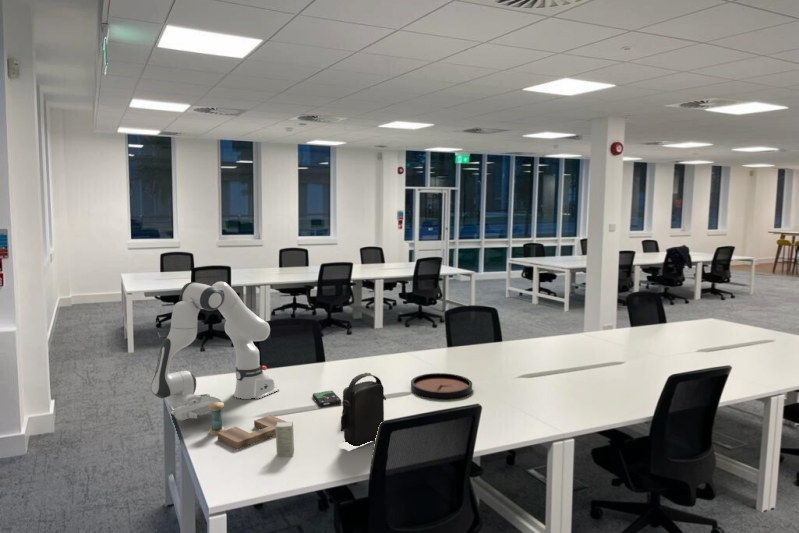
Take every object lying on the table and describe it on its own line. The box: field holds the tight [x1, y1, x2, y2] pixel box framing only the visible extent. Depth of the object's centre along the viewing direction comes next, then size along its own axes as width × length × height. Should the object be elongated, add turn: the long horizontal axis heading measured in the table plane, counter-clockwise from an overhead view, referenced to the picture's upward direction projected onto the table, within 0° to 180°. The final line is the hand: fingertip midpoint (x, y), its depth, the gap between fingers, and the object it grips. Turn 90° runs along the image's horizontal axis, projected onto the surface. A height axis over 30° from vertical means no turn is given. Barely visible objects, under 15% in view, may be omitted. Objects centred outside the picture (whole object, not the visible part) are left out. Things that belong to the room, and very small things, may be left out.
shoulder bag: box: [340, 372, 387, 446], centre depth 236 cm, size 23×9×28 cm, turn 134°
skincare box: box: [275, 421, 295, 457], centre depth 224 cm, size 6×4×12 cm
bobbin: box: [209, 402, 226, 436], centre depth 244 cm, size 6×6×12 cm
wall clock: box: [410, 372, 473, 401], centre depth 301 cm, size 31×4×31 cm
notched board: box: [217, 414, 287, 450], centre depth 242 cm, size 26×14×3 cm, turn 139°
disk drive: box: [312, 390, 342, 408], centre depth 284 cm, size 10×3×15 cm
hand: (207, 413), depth 249 cm, fingers open, 8 cm apart
